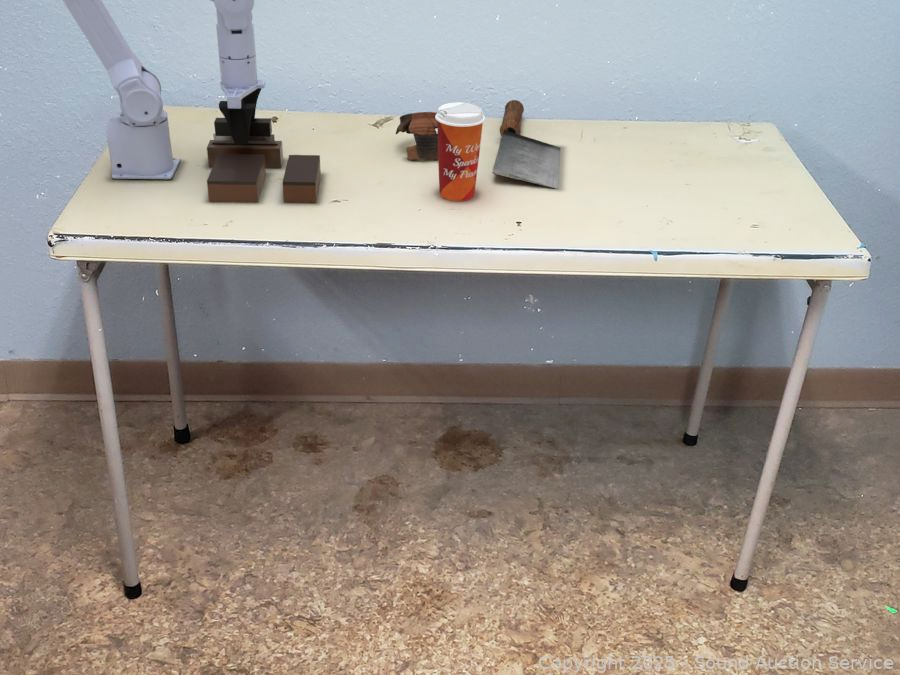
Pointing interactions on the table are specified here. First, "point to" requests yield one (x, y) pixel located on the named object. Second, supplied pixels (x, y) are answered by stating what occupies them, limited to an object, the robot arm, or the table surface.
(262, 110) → the table surface
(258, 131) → the bench scraper
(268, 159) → the knife block
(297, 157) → the brown rectangular block
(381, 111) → the table surface
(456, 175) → the paper cup
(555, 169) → the meat cleaver
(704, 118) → the table surface
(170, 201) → the table surface
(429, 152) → the brown irregular chunky piece
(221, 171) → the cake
